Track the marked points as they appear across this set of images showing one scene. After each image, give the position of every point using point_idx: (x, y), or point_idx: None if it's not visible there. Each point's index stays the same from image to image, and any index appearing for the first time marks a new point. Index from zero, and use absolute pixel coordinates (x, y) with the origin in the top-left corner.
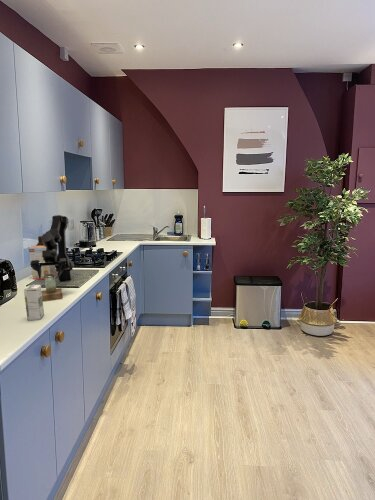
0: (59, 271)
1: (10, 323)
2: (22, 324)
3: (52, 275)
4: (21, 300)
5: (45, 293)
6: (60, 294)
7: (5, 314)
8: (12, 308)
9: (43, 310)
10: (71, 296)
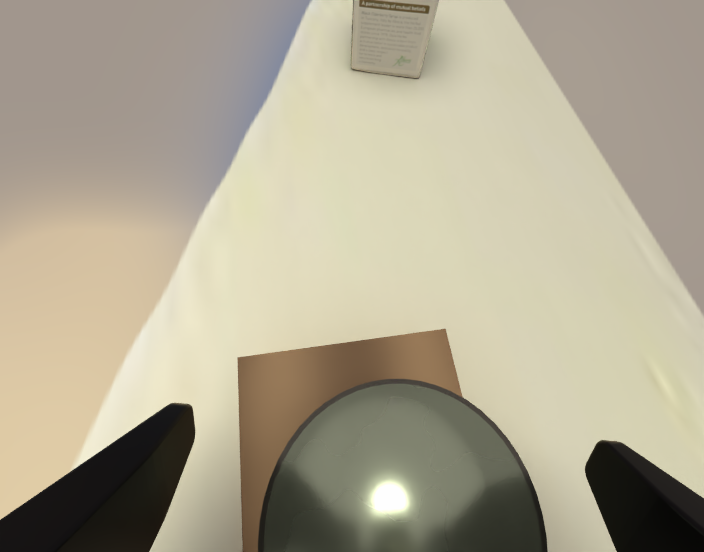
0: (37, 507)
1: (497, 30)
2: None
3: (311, 453)
4: None
5: None
6: (257, 356)
7: (595, 153)
8: (611, 252)
9: (352, 37)
10: None
